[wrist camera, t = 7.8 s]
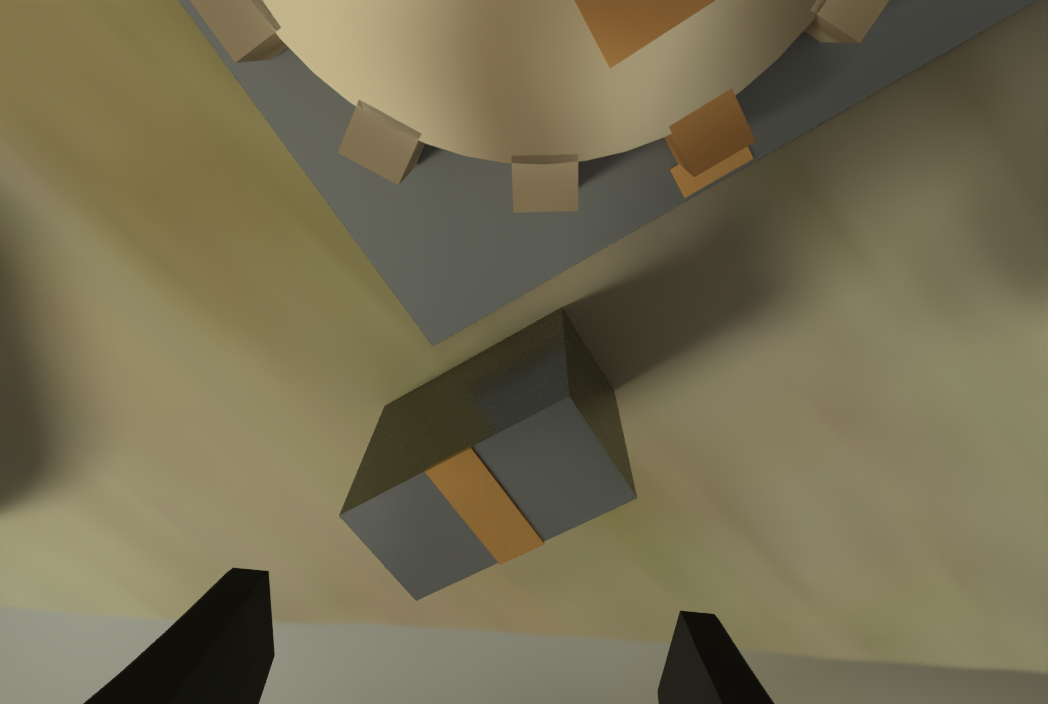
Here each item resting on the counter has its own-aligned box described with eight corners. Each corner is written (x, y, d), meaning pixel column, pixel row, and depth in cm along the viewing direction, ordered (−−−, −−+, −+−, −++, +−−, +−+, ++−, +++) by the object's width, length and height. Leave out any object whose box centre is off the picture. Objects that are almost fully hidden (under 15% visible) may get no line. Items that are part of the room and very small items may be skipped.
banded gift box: (614, 390, 19) (638, 500, 15) (442, 478, 21) (416, 603, 16) (561, 306, 18) (569, 397, 14) (384, 404, 20) (337, 517, 15)
